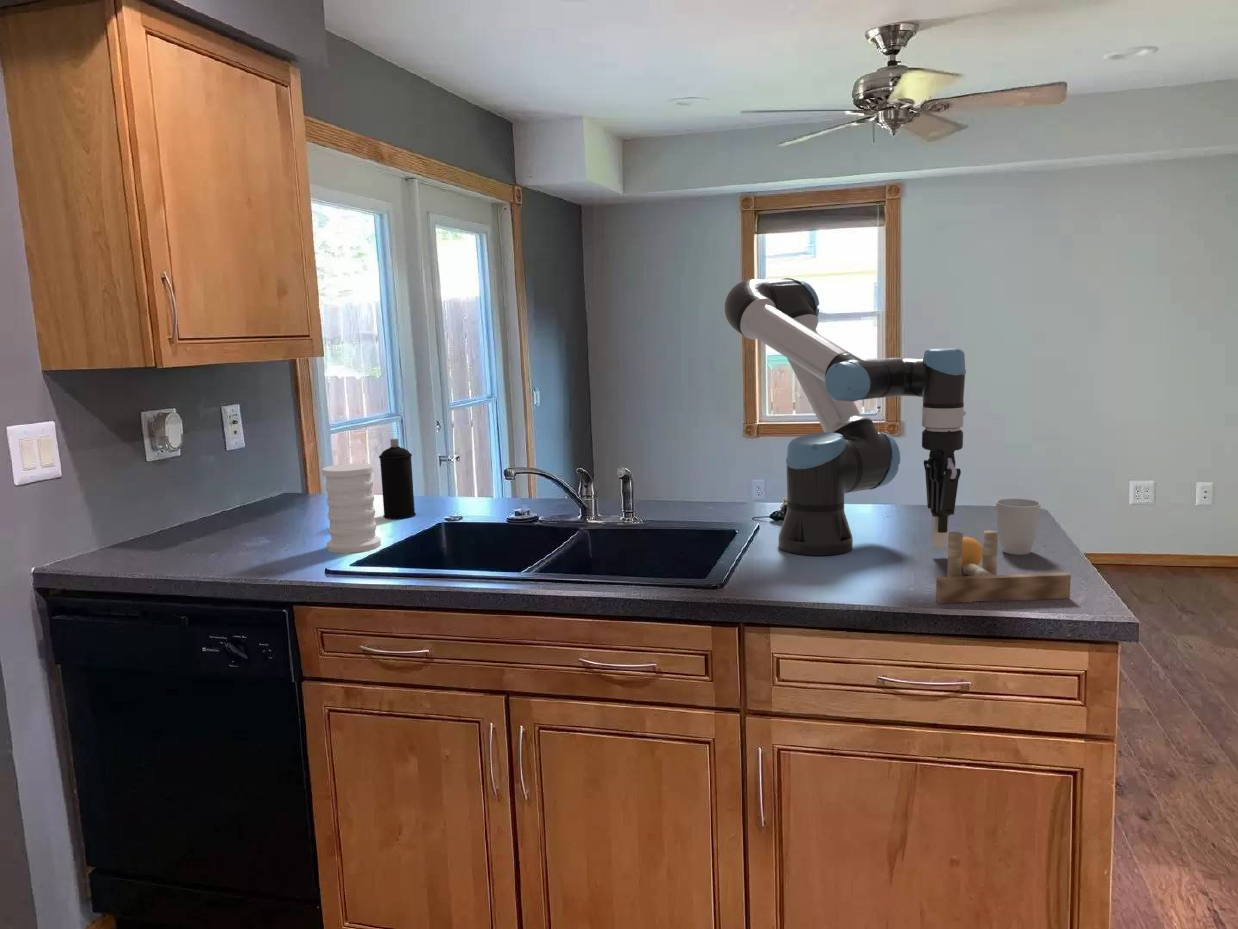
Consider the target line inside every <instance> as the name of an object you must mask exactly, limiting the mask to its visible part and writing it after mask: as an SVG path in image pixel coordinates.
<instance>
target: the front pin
mask: <svg viewBox="0 0 1238 929" xmlns="http://www.w3.org/2000/svg"><path fill="white" fill-rule="evenodd" d="M962 573H964V574H965V575H967V576H987V575H994V574H992V573H990V572H988V571H987V570H985V569H983V568H982V566H979V565H975V564H974V563H971V562H968V563H966V564H965V565H964V566H963V568H962Z"/></svg>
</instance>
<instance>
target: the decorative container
mask: <svg viewBox="0 0 1238 929" xmlns="http://www.w3.org/2000/svg"><path fill="white" fill-rule="evenodd" d="M374 469H375V468H374V464H373V463H362V462H357V463H356V462H355V463H351V462H350V463H341V464H334V465H328V466H325V467H323V468H321V471H322V472H321V474H322V476H324V477H325V478H326V479H325V480H326V483H325V485H324V486H325V491H327V492H326V493H327V497H326V500H325V501H326V505H327V506H328V512H327V518H328V520H329V527H328V532H329V535H330V539H331V540H329V541H327V542H326V550H327V551H328V552H330V553H334V554H356V553H363V552H368V551H372V550H375V549H378V548H380V546H381V545H382V544H381V537H379V536H377V535H376V530H377V524H376V522H375V516H376V510H375V509H376V508H375V507H374V502H375V501H374V500H375V496H374V493H373V487H374V482H373V480H372V473H374V472H375V471H374Z"/></svg>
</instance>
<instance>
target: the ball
mask: <svg viewBox="0 0 1238 929" xmlns="http://www.w3.org/2000/svg"><path fill="white" fill-rule="evenodd" d="M982 561H983V546H982V544H981V543H980V542H979V541H978V540H976V539H975V538H973V537H969V536H963V542H962V569H963V566H964V565H965V564H966V563H968V562H971V563H974V564H975V565H977V566H979V564H980V563H981V562H982Z"/></svg>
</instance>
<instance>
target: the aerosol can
mask: <svg viewBox="0 0 1238 929" xmlns="http://www.w3.org/2000/svg"><path fill="white" fill-rule="evenodd" d="M389 440H390V447H389V448H386V449H385V450H383V451H382V452H381V454H380V455H379V456H378V458H379V462H380V464H379V465H380V473H381V474H380V477H381V488H382V489H381V491H382V505H383V516H382V517H383V518H384V519H387V520H403V519H405V520H406V519H410V518H413V517H415V516H416V514H417V513H416V512H415V510H416V508H415V496H414V495H415V494H414V481H413V464H412V456H413V454H412V453H410V451H409V450H408V449H406V448H404V447H400V444H399V443H400V442H399V438H390V439H389Z"/></svg>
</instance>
